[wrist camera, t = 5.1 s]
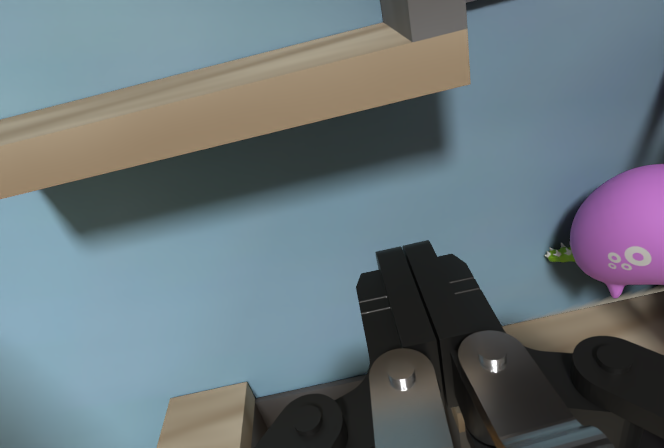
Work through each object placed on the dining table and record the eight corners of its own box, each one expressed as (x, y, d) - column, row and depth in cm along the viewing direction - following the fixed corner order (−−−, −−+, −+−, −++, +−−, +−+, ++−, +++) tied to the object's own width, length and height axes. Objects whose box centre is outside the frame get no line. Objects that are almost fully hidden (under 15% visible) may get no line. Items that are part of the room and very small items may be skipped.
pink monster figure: (845, 482, 10) (957, 155, 6) (590, 472, 13) (532, 230, 8) (719, 279, 15) (728, 22, 11) (555, 297, 18) (507, 90, 13)
